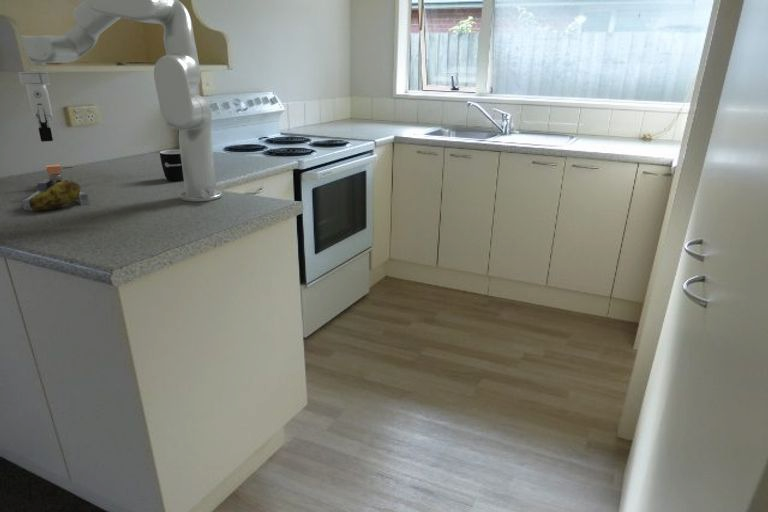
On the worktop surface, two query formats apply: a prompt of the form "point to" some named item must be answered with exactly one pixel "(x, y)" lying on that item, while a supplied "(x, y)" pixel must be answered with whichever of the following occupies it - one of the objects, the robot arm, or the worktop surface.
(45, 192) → the potato
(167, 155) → the mug
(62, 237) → the worktop surface
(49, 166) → the tab
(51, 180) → the tongs fixed
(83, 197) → the tongs jaw
